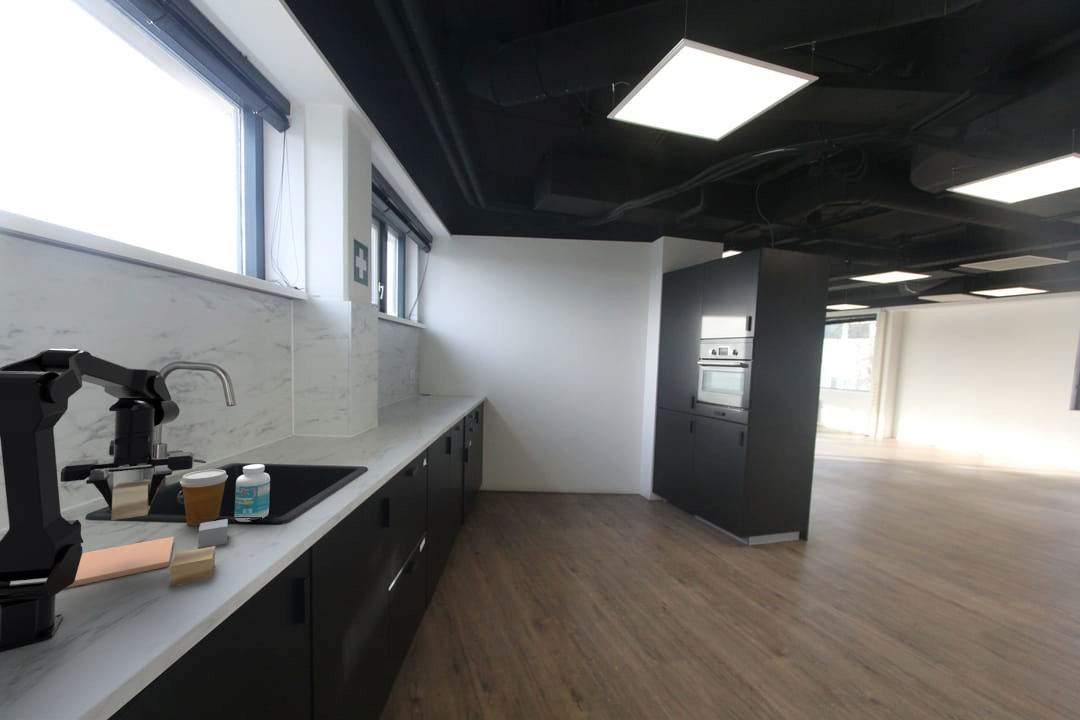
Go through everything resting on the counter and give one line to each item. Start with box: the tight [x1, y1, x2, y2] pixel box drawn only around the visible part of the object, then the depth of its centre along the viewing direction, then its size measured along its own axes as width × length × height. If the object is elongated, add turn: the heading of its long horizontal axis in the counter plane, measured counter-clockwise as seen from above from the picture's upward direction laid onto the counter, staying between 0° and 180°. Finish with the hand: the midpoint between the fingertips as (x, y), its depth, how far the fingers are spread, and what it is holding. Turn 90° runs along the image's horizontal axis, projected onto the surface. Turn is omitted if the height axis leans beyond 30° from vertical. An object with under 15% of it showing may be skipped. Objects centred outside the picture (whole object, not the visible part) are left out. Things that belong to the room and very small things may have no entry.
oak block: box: [169, 545, 216, 588], centre depth 79 cm, size 6×6×4 cm
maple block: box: [110, 479, 152, 521], centre depth 84 cm, size 5×5×6 cm
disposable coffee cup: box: [179, 469, 229, 526], centre depth 105 cm, size 10×10×12 cm
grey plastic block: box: [197, 518, 229, 549], centre depth 94 cm, size 5×5×4 cm
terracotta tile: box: [66, 536, 175, 589], centre depth 83 cm, size 14×14×1 cm
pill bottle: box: [234, 463, 271, 523], centre depth 108 cm, size 8×7×14 cm
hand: (131, 507), depth 84 cm, fingers closed on maple block, 5 cm apart
